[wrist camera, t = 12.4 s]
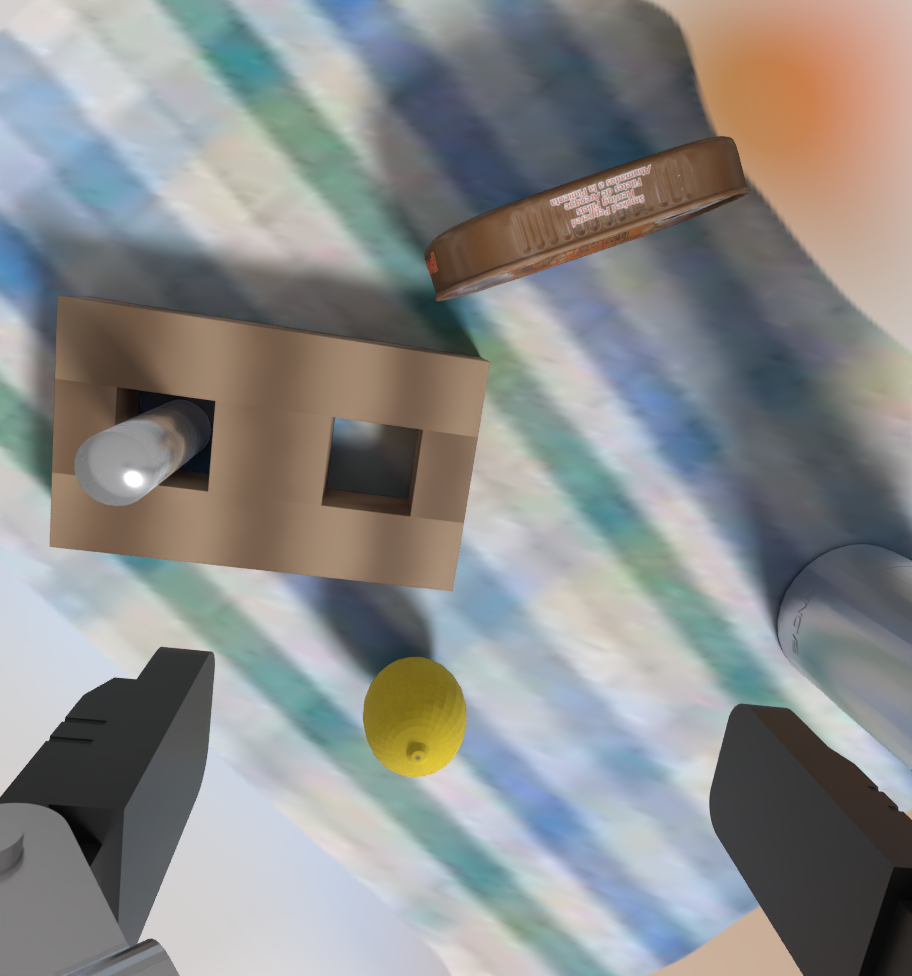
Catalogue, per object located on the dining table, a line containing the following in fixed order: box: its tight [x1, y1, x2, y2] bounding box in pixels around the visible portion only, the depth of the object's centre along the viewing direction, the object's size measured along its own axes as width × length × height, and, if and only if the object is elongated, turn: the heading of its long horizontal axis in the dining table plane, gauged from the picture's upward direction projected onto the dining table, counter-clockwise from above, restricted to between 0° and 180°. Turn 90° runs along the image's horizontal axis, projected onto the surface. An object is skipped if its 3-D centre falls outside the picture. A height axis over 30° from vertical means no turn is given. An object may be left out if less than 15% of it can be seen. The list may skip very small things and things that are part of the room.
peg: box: [74, 400, 211, 506], centre depth 34 cm, size 3×3×10 cm
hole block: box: [50, 296, 490, 591], centre depth 37 cm, size 20×12×4 cm, turn 81°
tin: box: [425, 136, 750, 301], centre depth 34 cm, size 15×3×8 cm, turn 108°
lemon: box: [363, 657, 466, 777], centre depth 39 cm, size 6×6×8 cm
